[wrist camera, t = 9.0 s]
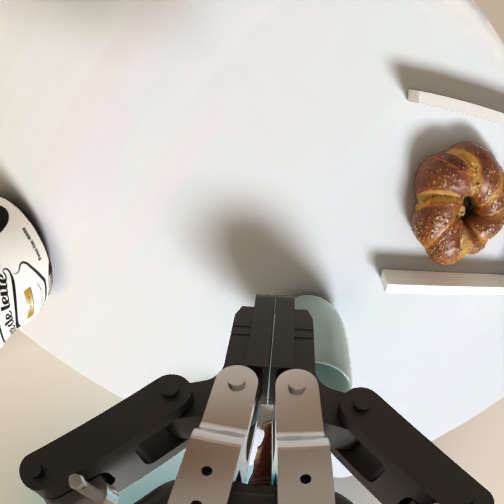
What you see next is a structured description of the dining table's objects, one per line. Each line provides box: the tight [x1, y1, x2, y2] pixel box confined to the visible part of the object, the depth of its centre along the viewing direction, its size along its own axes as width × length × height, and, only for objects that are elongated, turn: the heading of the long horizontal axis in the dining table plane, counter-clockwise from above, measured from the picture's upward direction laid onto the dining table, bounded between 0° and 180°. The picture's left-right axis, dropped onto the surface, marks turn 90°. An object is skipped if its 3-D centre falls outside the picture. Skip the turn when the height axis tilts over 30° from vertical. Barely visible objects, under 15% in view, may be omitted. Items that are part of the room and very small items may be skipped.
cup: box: [267, 295, 352, 400], centre depth 29 cm, size 8×8×10 cm
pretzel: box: [411, 142, 504, 265], centre depth 24 cm, size 12×11×4 cm
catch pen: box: [380, 89, 504, 295], centre depth 23 cm, size 18×17×2 cm
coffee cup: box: [248, 421, 272, 487], centre depth 41 cm, size 9×8×13 cm
